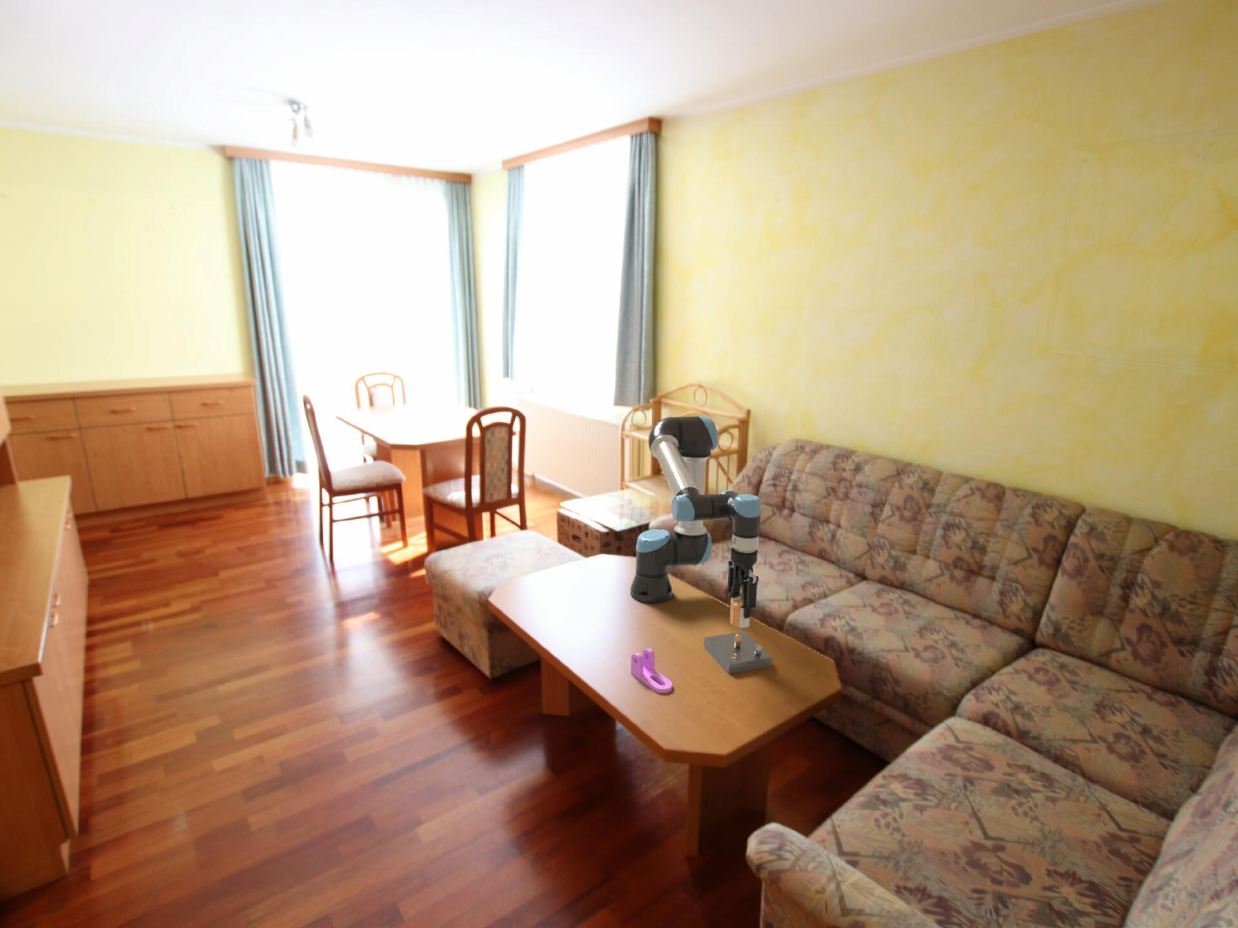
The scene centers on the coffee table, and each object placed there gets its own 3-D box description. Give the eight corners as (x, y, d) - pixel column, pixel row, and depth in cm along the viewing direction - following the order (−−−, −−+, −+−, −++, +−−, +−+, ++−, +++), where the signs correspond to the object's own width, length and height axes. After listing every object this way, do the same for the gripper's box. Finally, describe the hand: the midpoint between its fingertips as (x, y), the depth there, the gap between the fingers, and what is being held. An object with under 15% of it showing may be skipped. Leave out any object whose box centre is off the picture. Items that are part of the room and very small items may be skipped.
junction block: (703, 646, 199) (705, 625, 198) (744, 639, 204) (745, 619, 202) (728, 673, 185) (730, 651, 183) (771, 666, 189) (773, 644, 188)
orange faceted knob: (726, 619, 193) (728, 600, 192) (742, 617, 195) (743, 598, 193) (735, 628, 188) (736, 608, 187) (751, 625, 190) (752, 606, 189)
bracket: (630, 673, 184) (631, 651, 182) (646, 667, 187) (646, 646, 186) (660, 696, 174) (661, 672, 172) (676, 689, 177) (677, 666, 176)
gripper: (718, 538, 193) (713, 610, 199) (749, 561, 176) (743, 638, 182) (740, 536, 196) (735, 607, 201) (773, 558, 179) (766, 634, 184)
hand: (739, 622), depth 192 cm, fingers closed on orange faceted knob, 5 cm apart
